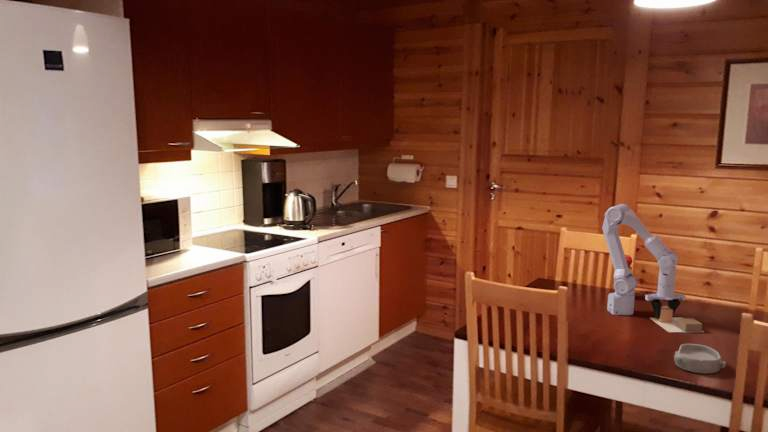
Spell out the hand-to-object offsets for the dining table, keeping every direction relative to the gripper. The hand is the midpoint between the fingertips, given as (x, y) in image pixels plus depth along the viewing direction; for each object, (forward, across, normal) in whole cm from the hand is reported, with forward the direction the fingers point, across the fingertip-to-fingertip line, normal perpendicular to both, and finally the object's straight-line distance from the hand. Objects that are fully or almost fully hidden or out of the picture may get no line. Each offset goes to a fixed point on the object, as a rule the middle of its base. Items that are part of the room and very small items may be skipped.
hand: (663, 318), depth 223 cm
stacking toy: (+2, -1, +32) cm, 32 cm away
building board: (+2, +2, -4) cm, 5 cm away
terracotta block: (+1, 0, 0) cm, 1 cm away
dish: (+2, -8, -38) cm, 39 cm away
